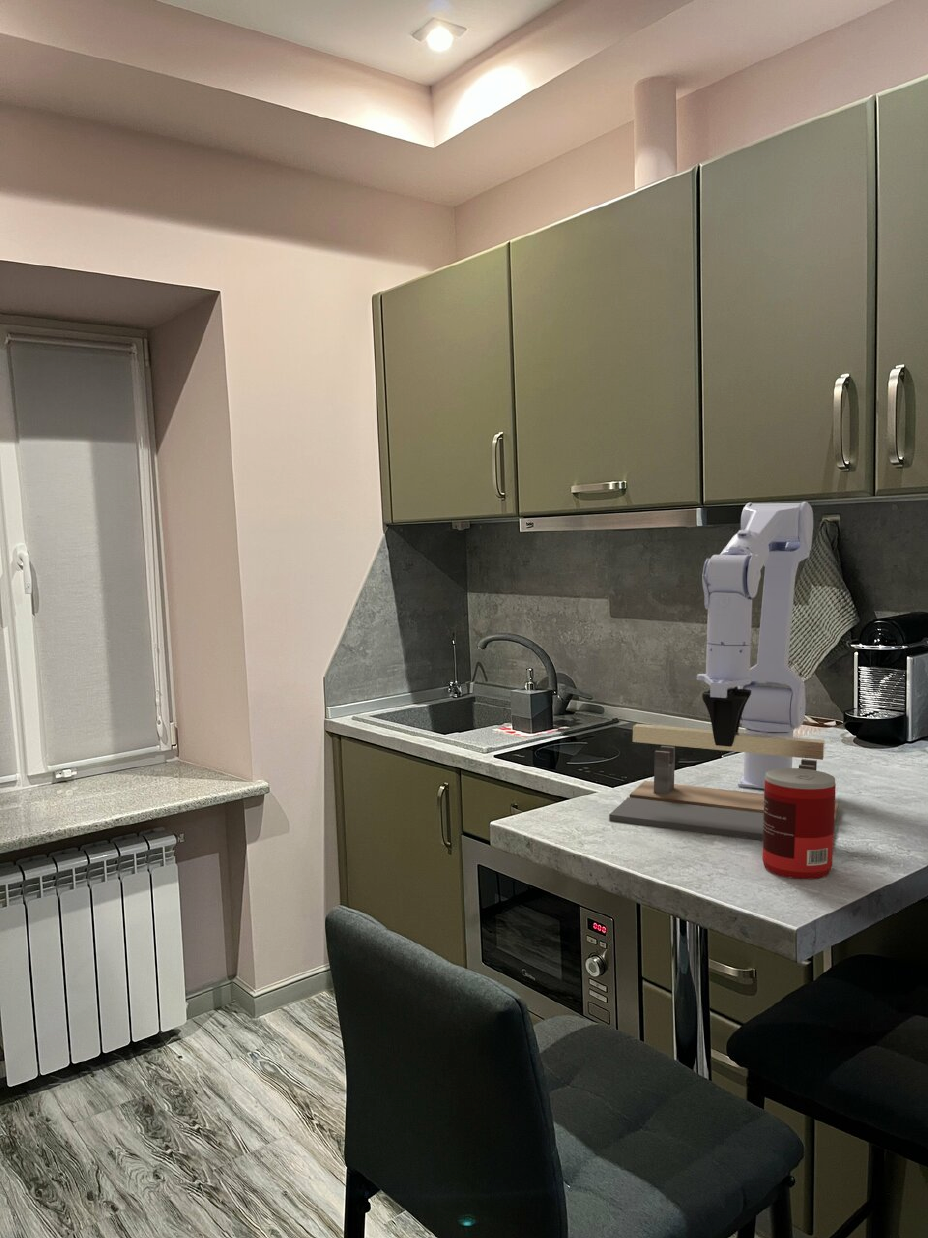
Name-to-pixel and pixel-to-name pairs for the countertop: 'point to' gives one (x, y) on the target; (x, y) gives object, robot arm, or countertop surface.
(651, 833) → the countertop surface
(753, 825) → the mat
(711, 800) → the rack
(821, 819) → the canned food
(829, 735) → the countertop surface
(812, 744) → the rail
